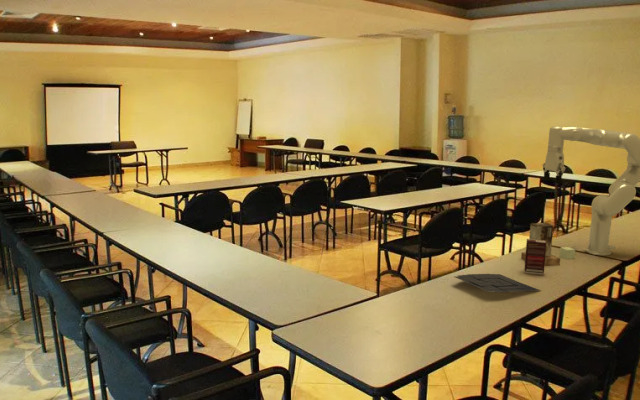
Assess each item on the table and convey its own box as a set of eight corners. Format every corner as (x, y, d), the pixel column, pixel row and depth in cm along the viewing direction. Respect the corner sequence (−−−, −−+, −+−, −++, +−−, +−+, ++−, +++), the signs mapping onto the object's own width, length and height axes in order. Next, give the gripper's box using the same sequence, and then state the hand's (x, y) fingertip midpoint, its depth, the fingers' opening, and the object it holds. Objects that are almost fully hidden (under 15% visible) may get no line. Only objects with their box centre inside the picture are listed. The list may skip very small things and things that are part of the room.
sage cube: (567, 256, 272) (568, 247, 271) (574, 258, 267) (575, 249, 266) (559, 256, 271) (560, 247, 270) (565, 259, 266) (566, 250, 265)
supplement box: (542, 272, 244) (546, 240, 241) (543, 275, 240) (547, 242, 237) (523, 270, 247) (526, 238, 244) (524, 273, 243) (527, 240, 240)
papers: (449, 281, 227) (450, 273, 226) (498, 279, 241) (499, 272, 240) (489, 299, 206) (491, 291, 205) (540, 296, 219) (542, 288, 219)
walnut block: (542, 258, 269) (543, 251, 268) (559, 266, 256) (560, 258, 255) (520, 259, 266) (521, 252, 265) (536, 267, 253) (537, 259, 252)
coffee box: (544, 253, 264) (546, 222, 262) (551, 256, 258) (553, 225, 255) (527, 253, 263) (529, 223, 260) (534, 257, 257) (536, 225, 254)
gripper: (572, 151, 265) (569, 183, 268) (550, 148, 282) (547, 179, 285) (559, 151, 263) (556, 184, 267) (538, 148, 280) (536, 179, 283)
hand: (552, 181), depth 276 cm, fingers open, 9 cm apart
